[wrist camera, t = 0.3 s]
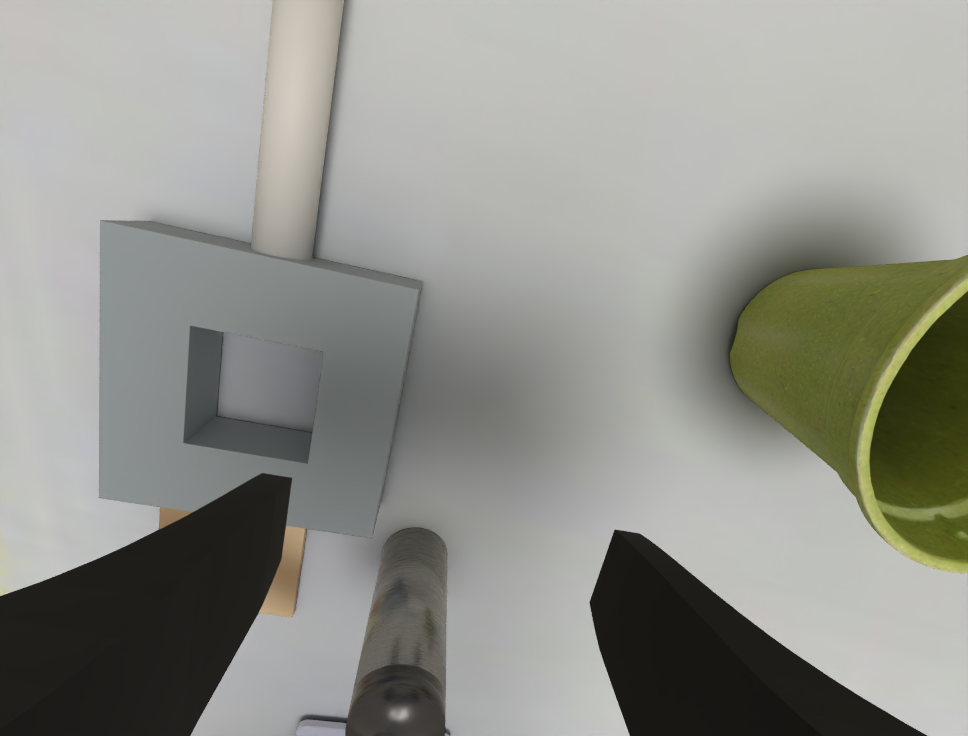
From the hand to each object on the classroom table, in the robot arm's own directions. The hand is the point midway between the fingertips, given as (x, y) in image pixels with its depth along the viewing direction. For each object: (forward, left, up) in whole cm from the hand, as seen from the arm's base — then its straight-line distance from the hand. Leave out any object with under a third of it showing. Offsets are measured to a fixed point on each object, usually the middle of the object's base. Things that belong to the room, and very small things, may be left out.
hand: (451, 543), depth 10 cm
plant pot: (+5, -14, -10) cm, 18 cm away
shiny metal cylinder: (-8, 0, -10) cm, 13 cm away
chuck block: (+4, +7, -10) cm, 13 cm away
